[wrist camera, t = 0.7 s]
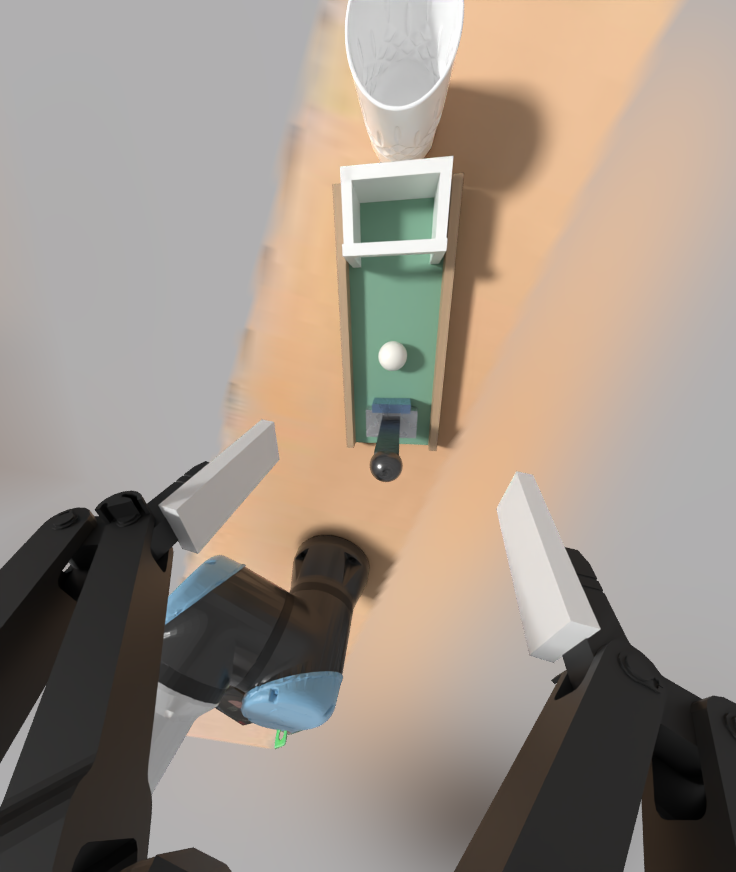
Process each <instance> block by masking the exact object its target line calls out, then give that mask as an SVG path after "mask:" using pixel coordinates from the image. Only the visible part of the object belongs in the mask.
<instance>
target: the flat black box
mask: <svg viewBox="0 0 736 872" xmlns="http://www.w3.org/2000/svg"><path fill="white" fill-rule="evenodd" d="M244 695H245V692H243V691H242V690H240V689H238V688H236V687H234V686H231V685H230V686H229V687H228V688H227V690H226V692H225V694H224V695H223V697H222V699H221V701H220V703H219V704H218V706H217V707H215V708H216V709H218V710H219V711H221V712H222V713H224V714H226V715H227V716H229V717H230V718H232V719H233V720H235V721H237V722H238V723H240V724H241V725H247V724H250V723H252V722H250V721H249V720H248V718H246V717H244V716H243V714H242V711H241V707H242V699H243V697H244Z"/></svg>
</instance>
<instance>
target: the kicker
mask: <svg viewBox="0 0 736 872" xmlns="http://www.w3.org/2000/svg"><path fill="white" fill-rule="evenodd" d="M417 415H418V410H417V407H411V401H410V398H374V400H373V403H372V406H367V408H366V437H378V438H377V442H376V447H375V451H374V455H373V457H372V458H371V461H370V470H371V473H372V475H373V476H374V477H375V478H376V479H378V480H379V481H382V482H390V481H393V480H395V479H396V478H398V476H399V475H400V474H401V471H402V460H401V458H400V456H399V438H416V431H417Z"/></svg>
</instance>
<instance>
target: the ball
mask: <svg viewBox="0 0 736 872" xmlns="http://www.w3.org/2000/svg"><path fill="white" fill-rule="evenodd" d="M378 357H379V362H380V364H381V366H382V367H383V368H385V369H386V370H389V371H396V370H399V369H400V368H402V367H403V366H404V364H405V362H406V360H407V351H406V349H405V347H404V346H403V345H402V344H401V343H399V342H396V341H390V342H387V343H385V344H384V345H383V346H382V347H381V349H380V351H379V356H378Z"/></svg>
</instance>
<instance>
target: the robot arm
mask: <svg viewBox="0 0 736 872" xmlns="http://www.w3.org/2000/svg"><path fill="white" fill-rule="evenodd" d="M278 460H279V453H278V446H277V439H276V433H275V426H274V422H272V421H267V420H261V421H259V422H258V423H257V424H256V425H255V426H253V427H252V428H251V429H250V430H248V431H247V432H246V433H245V434H244V435H242V436H241V437H240V438H239V439H238V440H236V441H235V442H234V443H233V444H232V445H230V446H229V447H228V448H227V449H226V450H224V451H223V452H222V453H221V454H219V455H218V456H217V457H216V458H215V459H213V460H212V461H211V462H207V461H205V462H203V463H201V464H199V465H197V466H194V467H193V468H192V469H190V470H189V471H188V472H187V473H185V474H184V476H182V477H180V478H179V479H178V480H177V481H176V482H174V483H173V484H172V485H170V486H169V487H168V488H166V489H165V490H164V491H163V492H161V493H160V494H159V495H158V496H157V497H155V498H154V499H152V500H151V501H150V502H149V503H147V504H146V502H145V500H144V498H143V497H142V495H141V494H140V493H138V492H136V491H125V492H121V493H117V494H114V495H112V496H110V497H108V498H106V499H105V500H104V501H102V502H101V503H100V504H99V505H98V506H97V507H96V509H95V511H96V512H97V514H98V515H99V516H94V515H93V514H92V513H91V512H90V510H88V509H86V508H73V509H69V510H66V511H63V512H61V513H59V514H57V515H55V516H53V517H52V518H50V519H49V520H48V521H46V522H45V523H44V524H43V525H42V526H41V527H40V528H39V529H38V530H37V531H36V532H35V533H34V534H33V535H32V536H31V538H30V539H29V540H28V541H27V542H26V543H25V544H24V545H23V546H22V547H21V548H20V549H19V550H18V551H17V552H16V553H15V554H14V555H13V557H12V558H11V559H10V560H9V561H8V562H7V563H6V564H5V565H4V566H3V567H2V568H1V569H0V763H1V761H2V759H3V757H4V756H5V754H6V752H7V751H8V749H9V747H10V745H11V744H12V742H13V740H14V738H15V737H16V735H17V733H18V732H19V730H20V728H21V727H22V725H23V723H24V722H25V720H26V718H27V716H28V715H29V713H30V711H31V710H32V708H33V706H34V704H35V703H36V701H37V699H38V698H39V696H40V694H41V692H42V691H43V689H44V687H45V686H46V687H45V690H44V693H43V695H42V698H41V701H40V703H39V706H38V709H37V711H36V714H35V717H34V719H33V722H32V725H31V727H30V730H29V733H28V736H27V738H26V741H25V743H24V746H23V749H22V752H21V754H20V757H19V760H18V762H17V765H16V768H15V770H14V773H13V776H12V778H11V781H10V784H9V787H8V789H7V792H6V794H5V797H4V800H3V802H2V804H1V807H0V872H231V870H230V869H229V867H228V866H227V865H226V864H224V863H223V862H221V861H219V860H217V859H215V858H213V857H211V856H209V855H207V854H205V853H203V852H201V851H199V850H197V849H195V848H188V849H183V850H179V851H173V852H169V853H163V854H158V855H156V856H155V857H152V858H149V859H147V855H148V845H149V834H150V825H151V814H152V796H151V795H152V793H153V791H154V790H155V788H156V786H157V784H158V782H159V781H160V779H161V778H162V776H163V774H164V773H165V771H166V769H167V767H168V766H169V764H170V762H171V760H172V758H173V757H174V755H175V754H176V752H177V750H178V748H179V747H180V745H181V743H182V741H183V740H184V738H185V736H186V735H187V733H188V731H189V729H190V728H191V726H192V724H193V722H194V721H195V720H196V719H197V718H198V717H199V716H201V715H202V714H204V713H206V712H208V711H210V710H212V709H213V708H215V707H217V706H218V704H219V703H220V701H221V699H222V697H223V695H224V694H225V692H226V690H227V688H228V687H229V686H230V685H231V686H234V687H236V688H238V689H240V690H242V691H243V692H245V695H244V697H243V699H242V707H241V711H242V714H243V716H244V717H246V718H248V720H249V721H250V722H252V723H254V724H257V725H259V726H262V727H266V728H270V729H277V730H285V731H300V730H307V729H312V728H315V727H318V726H320V725H322V724H323V723H325V722H326V721H327V720H328V719H329V718H330V717H331V715H332V713H333V711H334V709H335V706H336V701H337V697H338V693H339V689H340V685H341V682H342V679H343V675H342V673H343V667H344V661H345V655H346V650H347V644H348V638H349V632H350V626H351V620H352V614H353V609H354V607H355V605H356V603H357V601H358V599H359V597H360V595H361V593H362V592H363V590H364V588H365V586H366V583H367V580H368V574H369V563H368V560H367V557H366V556H365V554H364V553H363V551H362V550H361V549H360V548H359V547H357V546H356V545H355V544H353V543H352V542H350V541H348V540H346V539H343V538H340V537H336V536H329V535H323V536H316V537H313V538H310V539H308V540H306V541H305V542H304V543H303V544H302V545H301V546H300V547H299V549H298V551H297V553H296V556H295V558H294V562H293V570H292V581H291V590H290V593H289V592H287V591H286V590H284V589H282V588H281V587H279V586H277V585H275V584H274V583H272V582H270V581H268V580H267V579H265V578H263V577H262V576H260V575H258V574H256V573H255V572H253V571H251V570H250V569H248V568H246V567H245V566H246V565H245V564H240V563H238V562H236V561H234V560H232V559H230V558H228V557H226V556H222V555H217V556H214V557H211V558H210V559H208V560H207V561H205V562H204V563H203V564H202V565H201V566H199V567H198V568H197V569H196V570H195V571H194V572H193V573H192V574H191V575H190V576H189V577H188V578H187V579H186V580H185V581H184V582H183V583H182V584H180V585H179V586H178V588H176V590H175V591H173V593H171V595H170V596H169V597H168V595H169V586H170V577H171V569H172V561H173V548H172V546H173V545H174V544H175V543H176V542H177V541H178V542H179V543H180V545H181V547H182V549H184V550H188V551H191V552H194V553H197V554H198V553H199V552H200V551H201V550H202V549H203V547H204V546H205V545H206V544H207V543H208V542H209V540H210V539H211V538H212V537H213V536H214V535H215V534H216V532H217V531H218V530H219V529H220V528H221V527H222V525H223V524H224V523H225V522H226V521H227V520H228V518H229V517H230V516H231V515H232V514H233V513H234V511H235V510H236V509H237V508H238V507H239V506H240V504H241V503H242V502H243V501H244V500H245V499H246V498H247V496H248V495H249V494H250V493H251V492H252V491H253V489H254V488H255V487H256V486H257V485H258V484H259V482H260V481H261V480H262V479H263V478H264V477H265V475H266V474H267V473H268V472H269V471H270V470H271V469H272V467H273V466H274V465H275V464H276V463H277V462H278ZM497 513H498V518H499V522H500V526H501V531H502V535H503V540H504V544H505V549H506V553H507V558H508V562H509V567H510V571H511V576H512V580H513V585H514V589H515V593H516V598H517V602H518V607H519V611H520V616H521V620H522V624H523V629H524V634H525V638H526V642H527V647H528V651H529V655H530V656H533V657H536V658H540V659H543V660H546V661H549V662H553V663H554V662H555V661H556V660H558V659H560V658H561V657H562V656H563V660H564V663H565V666H566V669H567V670H566V671H564V672H562V673H561V674H559V675H557V676H556V677H555V678H554V679H552V680H551V681H552V682H553V683H554V684H556V683H557V684H556V686H555V688H554V690H553V691H552V693H551V695H550V697H549V699H548V701H547V702H546V704H545V706H544V708H543V710H542V712H541V714H540V715H539V717H538V719H537V721H536V723H535V724H534V726H533V728H532V730H531V732H530V734H529V735H528V737H527V739H526V741H525V743H524V745H523V746H522V748H521V750H520V752H519V754H518V755H517V757H516V759H515V761H514V763H513V765H512V767H511V769H510V770H509V772H508V774H507V776H506V777H505V779H504V781H503V783H502V785H501V787H500V789H499V790H498V792H497V794H496V796H495V798H494V799H493V801H492V803H491V805H490V807H489V809H488V811H487V812H486V814H485V816H484V818H483V820H482V821H481V823H480V825H479V827H478V829H477V831H476V832H475V834H474V836H473V838H472V840H471V842H470V843H469V845H468V847H467V849H466V851H465V853H464V855H463V856H462V858H461V860H460V862H459V864H458V866H457V867H456V869H455V871H454V872H623V870H624V866H625V862H626V858H627V854H628V850H629V846H630V842H631V838H632V834H633V830H634V826H635V822H636V818H637V814H638V810H639V806H640V802H641V799H642V821H643V846H644V866H645V867H644V869H645V872H736V703H734V702H731V701H730V700H728V699H726V698H724V697H718V696H711V697H708V698H705V699H701V698H699V697H698V696H696V695H694V694H692V693H691V692H689V691H687V690H685V689H684V688H682V687H680V686H678V685H677V684H675V683H673V682H672V681H670V680H668V679H666V678H665V677H663V676H662V675H661V674H660V672H659V671H658V670H657V668H656V667H655V666H654V664H653V663H652V662H651V661H650V660H649V659H648V658H647V657H646V656H645V655H644V654H643V653H642V652H640V651H639V650H637V649H636V648H634V647H633V646H632V645H631V644H630V643H629V641H628V639H627V638H626V636H625V633H624V631H623V629H622V627H621V626H620V623H619V621H618V619H617V618H616V616H615V613H614V611H613V609H612V608H611V606H610V603H609V601H608V600H607V597H606V595H605V594H604V593H603V589H602V587H601V586H600V583H599V581H597V577H596V576H595V573H594V571H593V569H592V568H591V565H590V564H589V562H588V561H587V560H586V559H585V558H584V557H583V556H582V554H581V553H580V552H579V551H578V550H575V549H570V548H566V547H564V545H563V542H562V540H561V538H560V536H559V533H558V531H557V529H556V527H555V524H554V522H553V520H552V517H551V515H550V513H549V510H548V508H547V506H546V504H545V502H544V499H543V497H542V494H541V492H540V490H539V488H538V486H537V483H536V481H535V479H534V476H533V475H531V474H526V473H522V472H516V473H515V475H514V477H513V479H512V481H511V482H510V485H509V486H508V488H507V490H506V492H505V494H504V496H503V498H502V499H501V501H500V503H499V505H498V507H497ZM68 562H69V563H70V564H71V565H70V566H69V567H68V569H67V570H66V571H65V572H63V571H62V570H63V569H64V567H65V566H66V565H67V563H68Z"/></svg>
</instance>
